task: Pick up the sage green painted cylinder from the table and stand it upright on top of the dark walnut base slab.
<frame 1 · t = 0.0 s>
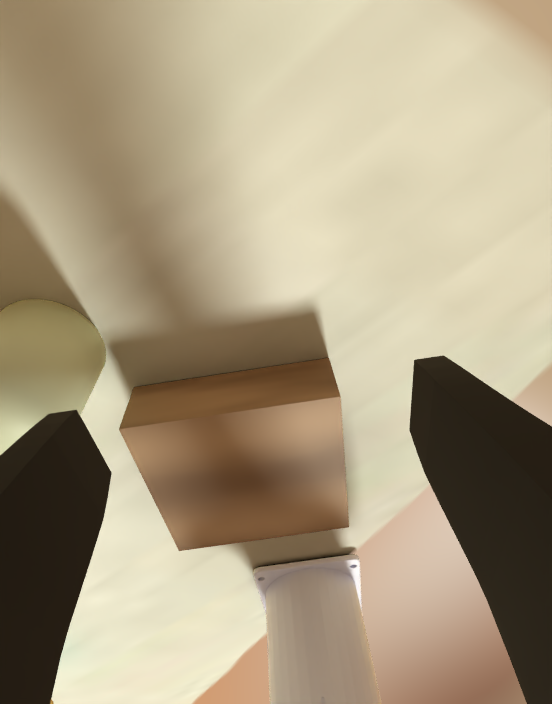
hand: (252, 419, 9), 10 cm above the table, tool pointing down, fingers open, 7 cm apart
sage cylinder: (50, 346, 19), on the table
walnut base: (248, 441, 24), on the table
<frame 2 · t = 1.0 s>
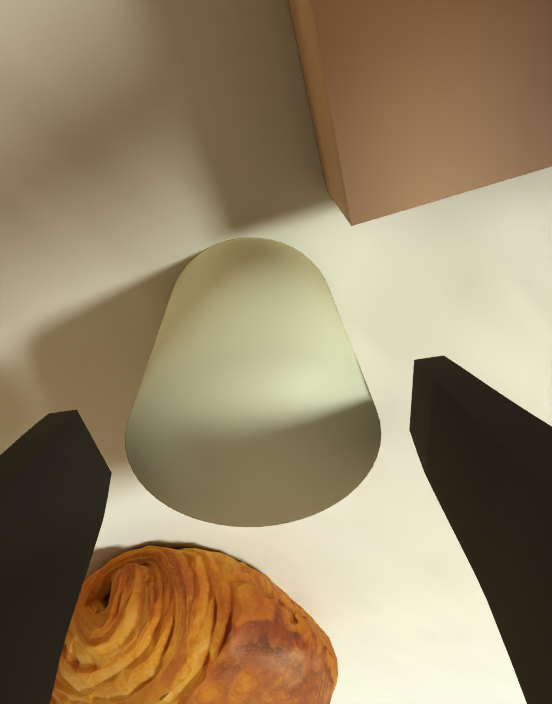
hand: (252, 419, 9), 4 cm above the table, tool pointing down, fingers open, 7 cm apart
croissant: (192, 605, 23), on the table
sage cylinder: (252, 316, 13), on the table
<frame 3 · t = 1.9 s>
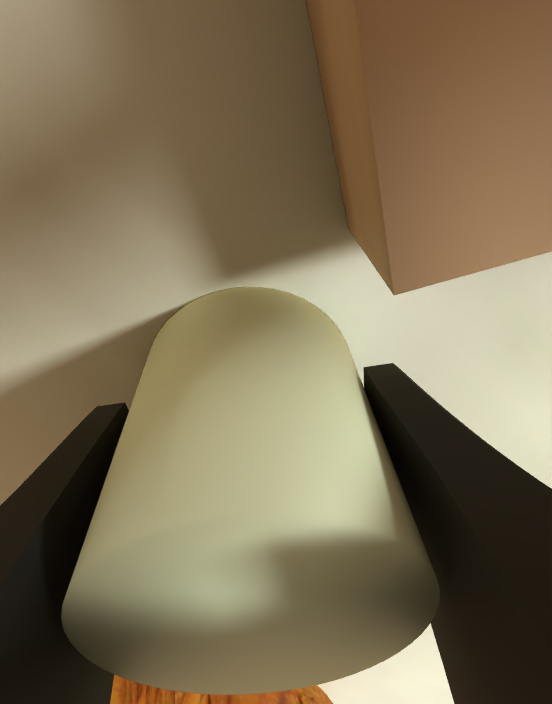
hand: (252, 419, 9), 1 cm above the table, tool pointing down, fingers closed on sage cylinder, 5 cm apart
croissant: (185, 671, 21), on the table
sage cylinder: (251, 379, 10), on the table, touching gripper
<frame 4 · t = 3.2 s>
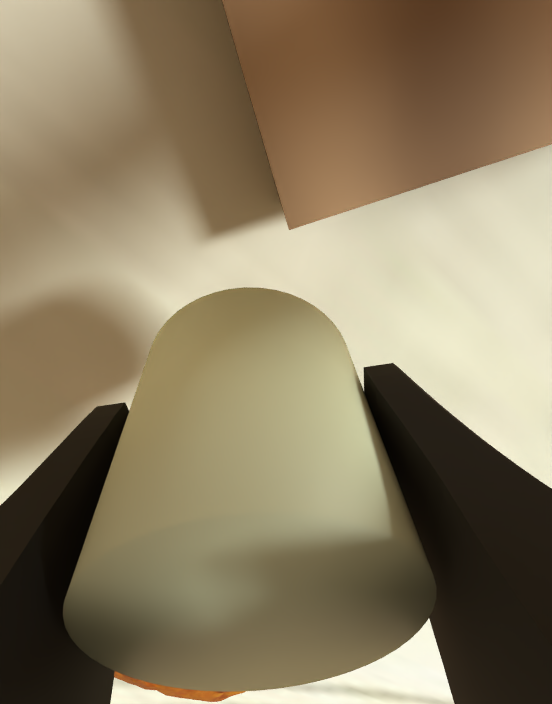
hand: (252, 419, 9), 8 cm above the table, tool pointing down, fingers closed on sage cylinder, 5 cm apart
croissant: (194, 557, 27), on the table
sage cylinder: (250, 379, 10), point 7 cm above the table, touching gripper
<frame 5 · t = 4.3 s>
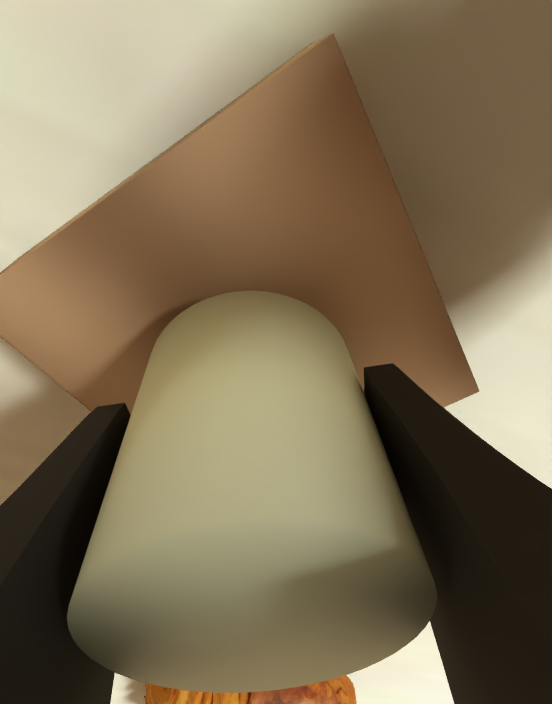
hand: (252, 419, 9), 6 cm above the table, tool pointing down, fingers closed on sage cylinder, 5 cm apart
croissant: (242, 662, 31), on the table
sage cylinder: (251, 381, 10), point 4 cm above the table, touching gripper
walnut base: (250, 302, 14), on the table
when the fingers open (5 cm above the table, at t = 4.8 s): sage cylinder stays where it is, resting on walnut base.
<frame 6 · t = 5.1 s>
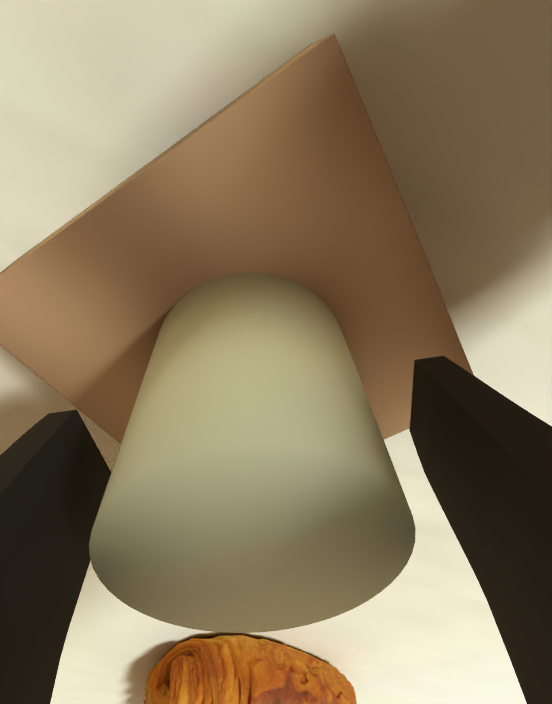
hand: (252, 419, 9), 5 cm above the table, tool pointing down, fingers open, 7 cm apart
croissant: (242, 666, 31), on the table
sage cylinder: (251, 360, 11), point 3 cm above the table, touching walnut base
walnut base: (249, 305, 13), on the table
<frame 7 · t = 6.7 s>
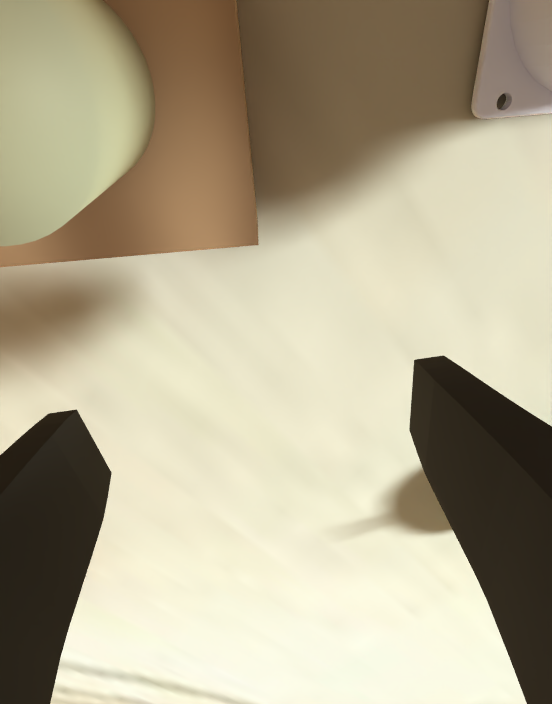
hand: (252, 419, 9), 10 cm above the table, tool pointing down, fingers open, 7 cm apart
sage cylinder: (64, 91, 12), point 3 cm above the table, touching walnut base
walnut base: (97, 84, 14), on the table
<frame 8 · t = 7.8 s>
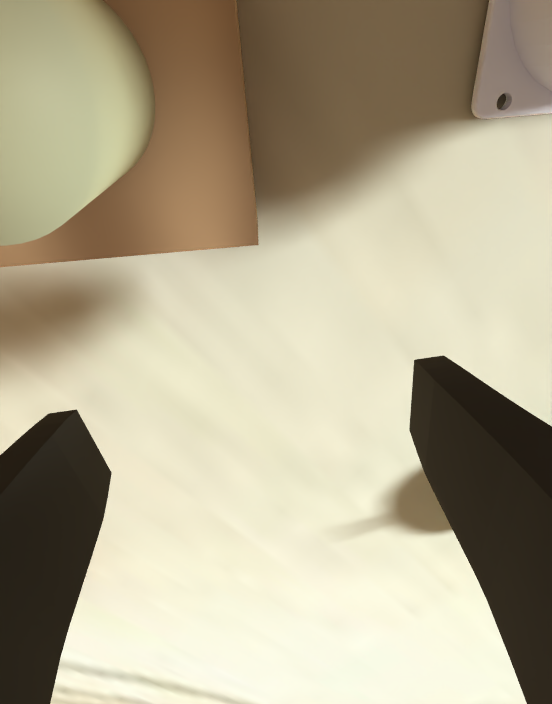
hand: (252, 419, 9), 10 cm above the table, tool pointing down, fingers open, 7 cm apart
sage cylinder: (64, 91, 12), point 3 cm above the table, touching walnut base
walnut base: (97, 84, 14), on the table
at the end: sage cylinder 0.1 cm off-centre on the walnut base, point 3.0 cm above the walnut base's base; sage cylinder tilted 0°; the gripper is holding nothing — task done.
